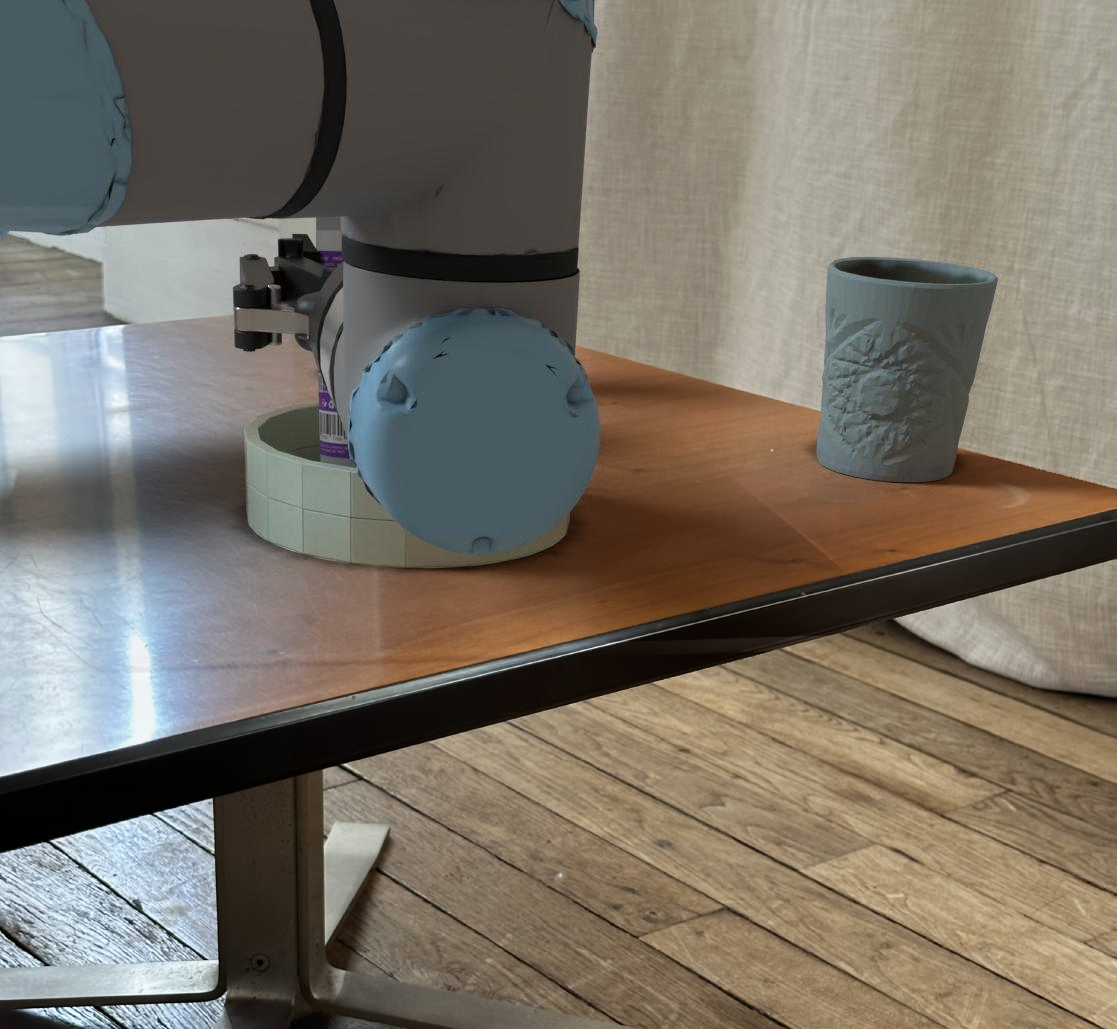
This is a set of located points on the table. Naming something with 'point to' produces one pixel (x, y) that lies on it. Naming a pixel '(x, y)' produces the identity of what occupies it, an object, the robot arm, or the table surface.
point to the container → (329, 421)
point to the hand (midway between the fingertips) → (353, 262)
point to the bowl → (335, 503)
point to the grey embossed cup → (899, 365)
